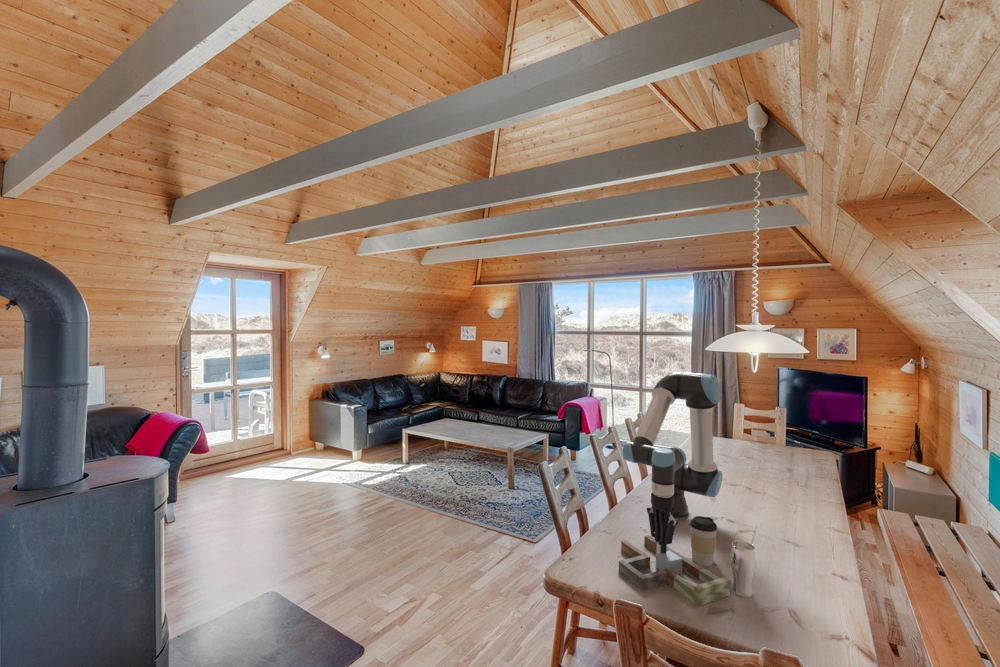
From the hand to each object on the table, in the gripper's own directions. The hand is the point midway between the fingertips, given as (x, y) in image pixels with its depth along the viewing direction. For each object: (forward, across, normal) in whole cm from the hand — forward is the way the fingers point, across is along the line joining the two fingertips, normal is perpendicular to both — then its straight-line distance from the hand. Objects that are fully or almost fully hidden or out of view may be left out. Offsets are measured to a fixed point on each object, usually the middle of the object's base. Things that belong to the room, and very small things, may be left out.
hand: (660, 560), depth 161 cm
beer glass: (+2, +22, +12) cm, 26 cm away
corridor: (+2, +5, -5) cm, 7 cm away
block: (+2, +4, 0) cm, 4 cm away
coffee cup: (+2, +3, +16) cm, 17 cm away
